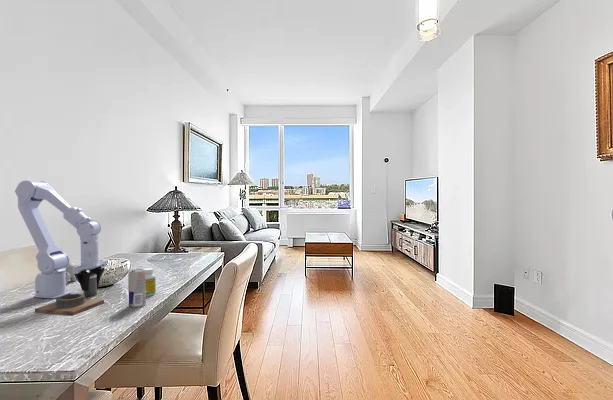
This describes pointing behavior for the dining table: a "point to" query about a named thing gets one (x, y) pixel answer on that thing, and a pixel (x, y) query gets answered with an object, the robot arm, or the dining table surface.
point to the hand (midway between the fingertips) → (90, 288)
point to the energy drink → (137, 288)
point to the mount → (70, 304)
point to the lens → (92, 286)
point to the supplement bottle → (150, 281)
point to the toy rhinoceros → (70, 272)
